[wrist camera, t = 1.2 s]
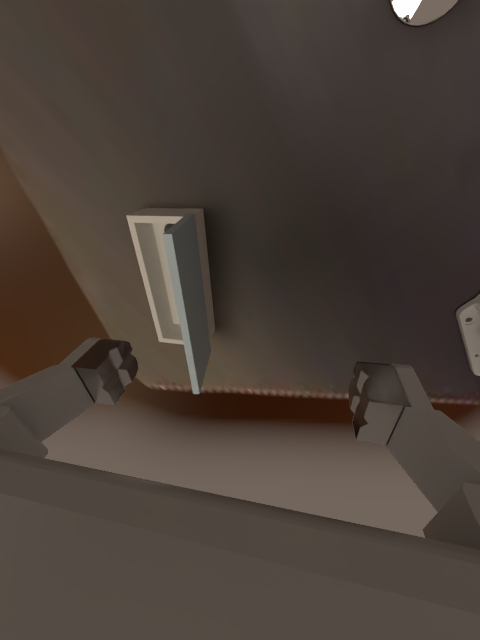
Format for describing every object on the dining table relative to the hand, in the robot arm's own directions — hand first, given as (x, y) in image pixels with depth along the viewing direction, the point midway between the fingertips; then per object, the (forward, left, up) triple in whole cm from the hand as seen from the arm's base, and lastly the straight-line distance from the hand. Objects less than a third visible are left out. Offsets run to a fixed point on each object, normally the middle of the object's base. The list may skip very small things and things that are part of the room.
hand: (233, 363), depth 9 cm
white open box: (-6, +22, -35) cm, 42 cm away
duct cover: (-8, +17, -23) cm, 30 cm away
